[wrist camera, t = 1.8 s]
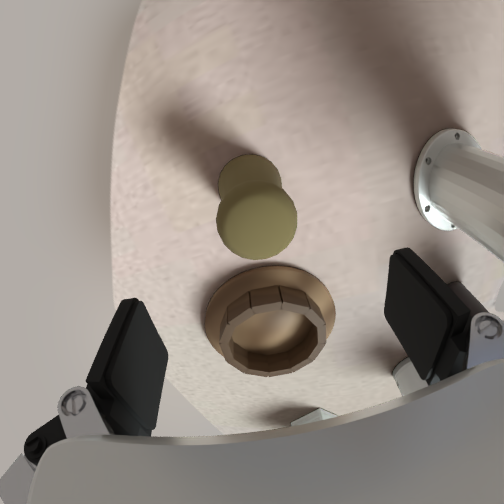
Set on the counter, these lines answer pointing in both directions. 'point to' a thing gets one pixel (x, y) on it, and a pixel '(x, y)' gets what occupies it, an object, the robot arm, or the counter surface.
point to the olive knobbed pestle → (254, 209)
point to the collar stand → (270, 320)
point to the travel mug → (408, 377)
